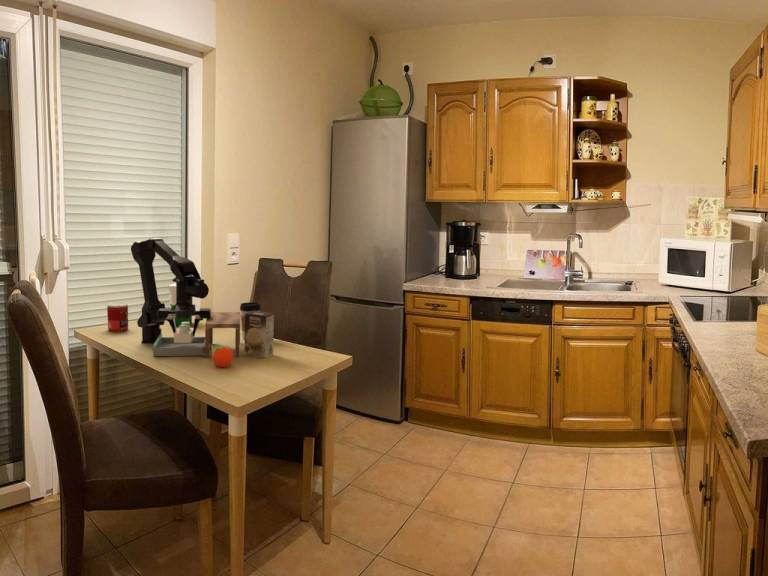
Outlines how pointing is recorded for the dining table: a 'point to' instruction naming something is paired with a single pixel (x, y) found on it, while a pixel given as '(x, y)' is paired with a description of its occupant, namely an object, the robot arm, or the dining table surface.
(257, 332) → the coffee box
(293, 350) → the dining table surface
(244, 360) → the dining table surface
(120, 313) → the canned food
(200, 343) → the drawer
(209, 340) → the wooden stand
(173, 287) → the milk carton
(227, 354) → the clementine
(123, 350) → the dining table surface
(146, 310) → the robot arm
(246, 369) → the dining table surface
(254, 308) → the black lidded jar
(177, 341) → the cream toy brick
